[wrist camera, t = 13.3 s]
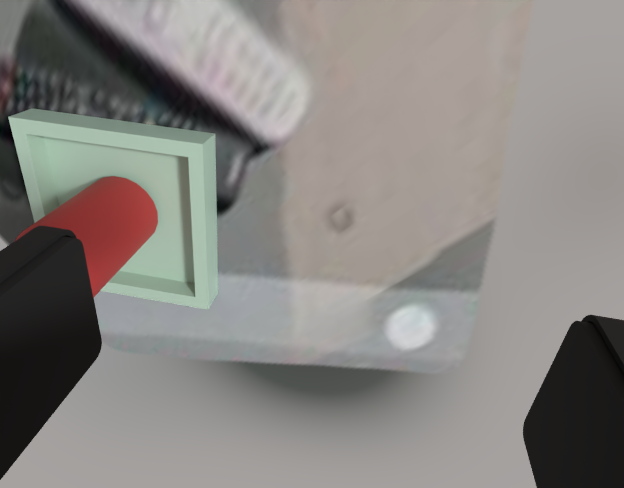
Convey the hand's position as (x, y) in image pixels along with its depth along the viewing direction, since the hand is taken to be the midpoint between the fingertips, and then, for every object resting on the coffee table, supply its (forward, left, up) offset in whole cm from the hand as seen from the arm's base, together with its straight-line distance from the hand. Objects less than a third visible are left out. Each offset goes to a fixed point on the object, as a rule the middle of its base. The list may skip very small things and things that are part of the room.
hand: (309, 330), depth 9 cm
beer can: (+14, -20, -28) cm, 37 cm away
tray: (+14, -20, -28) cm, 37 cm away
